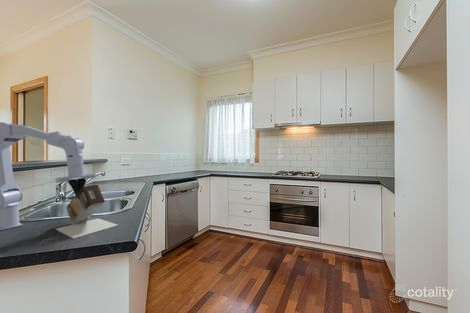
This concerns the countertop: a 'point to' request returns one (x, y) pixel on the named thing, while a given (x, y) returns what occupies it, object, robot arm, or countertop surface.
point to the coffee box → (85, 204)
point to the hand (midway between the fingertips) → (78, 196)
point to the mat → (86, 228)
